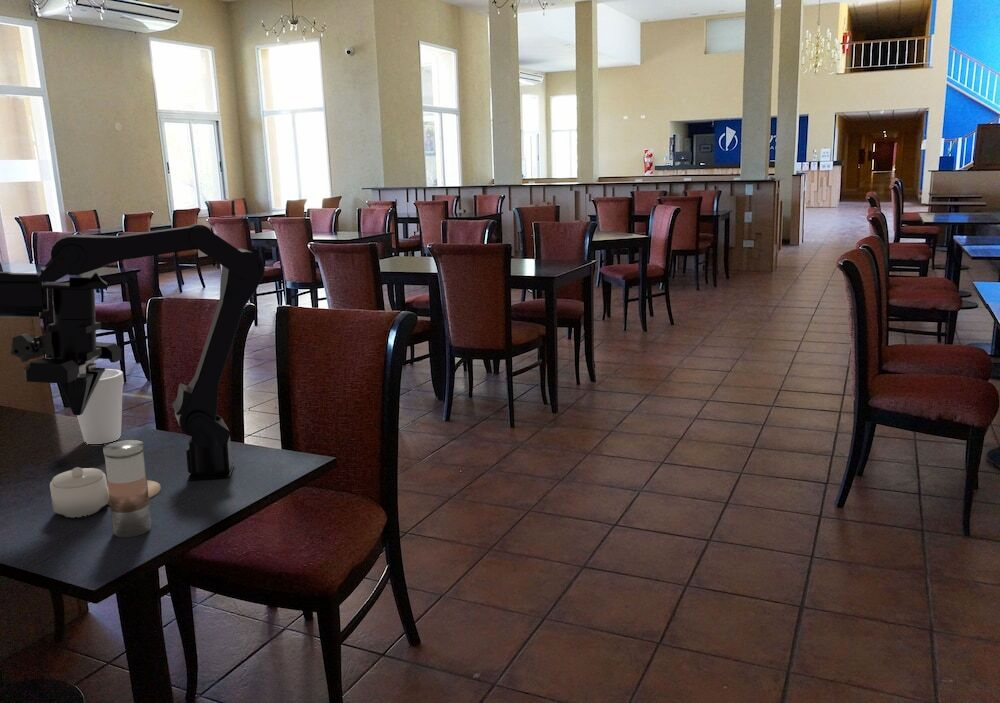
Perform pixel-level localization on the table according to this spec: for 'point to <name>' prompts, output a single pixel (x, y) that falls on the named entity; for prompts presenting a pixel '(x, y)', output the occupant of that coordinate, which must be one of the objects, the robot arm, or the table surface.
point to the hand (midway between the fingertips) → (77, 414)
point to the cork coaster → (152, 489)
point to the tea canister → (127, 488)
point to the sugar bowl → (79, 492)
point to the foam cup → (103, 410)
